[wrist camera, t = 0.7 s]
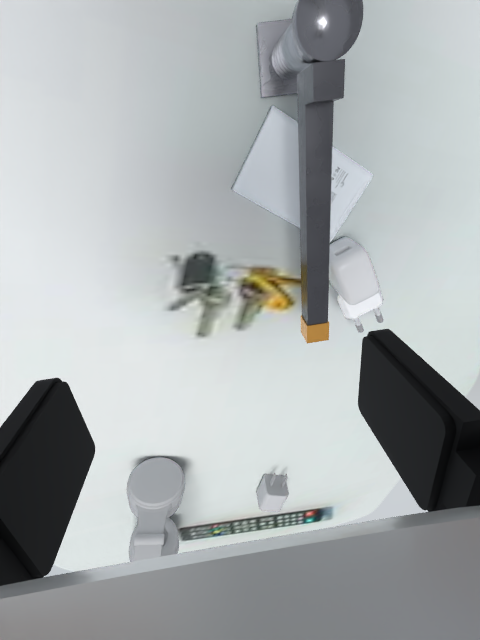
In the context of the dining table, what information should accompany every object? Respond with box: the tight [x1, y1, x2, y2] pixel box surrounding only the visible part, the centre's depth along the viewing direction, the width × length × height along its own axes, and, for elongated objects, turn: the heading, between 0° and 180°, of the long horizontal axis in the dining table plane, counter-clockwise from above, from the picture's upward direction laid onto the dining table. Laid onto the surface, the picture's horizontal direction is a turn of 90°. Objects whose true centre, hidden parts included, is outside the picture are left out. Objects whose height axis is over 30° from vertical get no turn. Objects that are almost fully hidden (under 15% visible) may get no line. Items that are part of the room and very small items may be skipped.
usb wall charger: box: [256, 473, 289, 512], centre depth 55 cm, size 4×7×4 cm, turn 164°
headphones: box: [127, 457, 185, 562], centre depth 47 cm, size 20×8×19 cm, turn 172°
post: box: [256, 19, 311, 98], centre depth 24 cm, size 5×5×9 cm
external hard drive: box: [231, 105, 374, 242], centre depth 33 cm, size 2×8×12 cm
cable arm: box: [292, 0, 363, 343], centre depth 26 cm, size 26×4×4 cm, turn 6°
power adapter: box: [329, 237, 384, 332], centre depth 37 cm, size 11×5×6 cm, turn 29°
